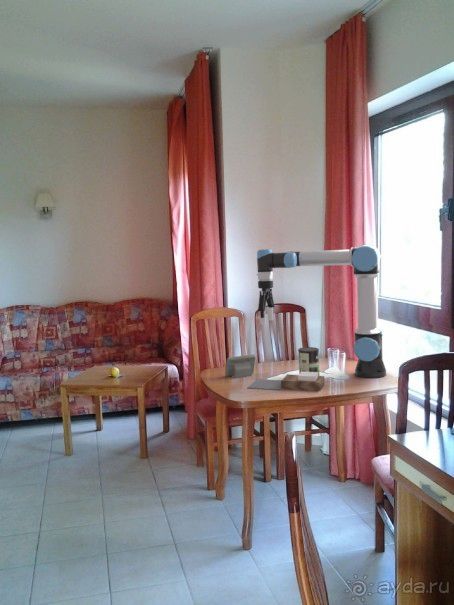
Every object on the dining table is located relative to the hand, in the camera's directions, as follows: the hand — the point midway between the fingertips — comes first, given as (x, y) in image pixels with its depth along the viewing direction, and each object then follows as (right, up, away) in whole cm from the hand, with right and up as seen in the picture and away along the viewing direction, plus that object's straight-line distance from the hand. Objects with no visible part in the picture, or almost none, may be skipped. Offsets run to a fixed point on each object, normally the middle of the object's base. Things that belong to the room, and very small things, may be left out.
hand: (266, 322), depth 267 cm
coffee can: (+21, -28, -1) cm, 35 cm away
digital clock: (-13, -28, +8) cm, 32 cm away
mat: (0, -30, -13) cm, 32 cm away
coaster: (+18, -26, -20) cm, 37 cm away
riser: (+16, -30, -19) cm, 38 cm away
